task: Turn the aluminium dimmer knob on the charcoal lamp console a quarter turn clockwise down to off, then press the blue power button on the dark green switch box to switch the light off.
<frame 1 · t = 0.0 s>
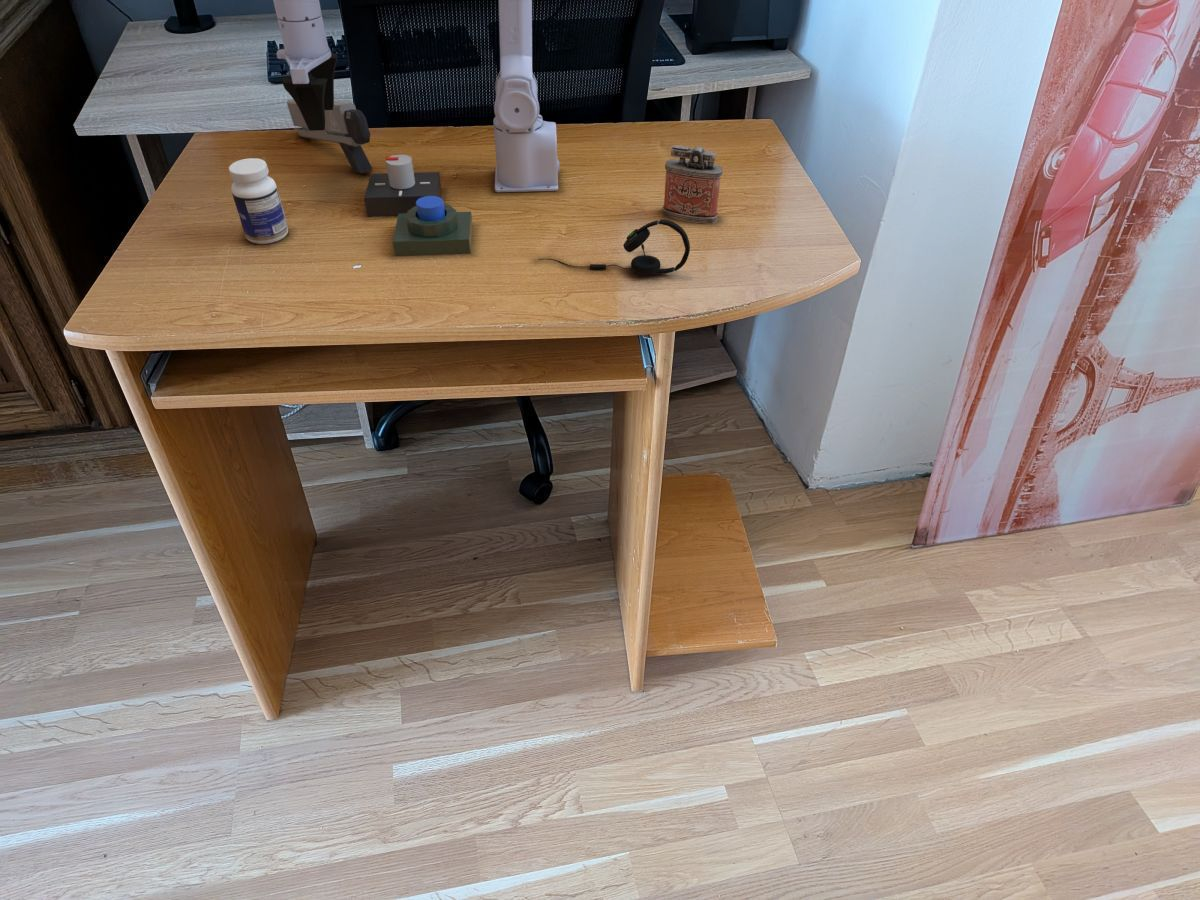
hand: (321, 119, 119), 10 cm above the table, tool pointing down, fingers open, 7 cm apart
power button: (430, 209, 111), point 5 cm above the table, slide at 0.1 cm
dimmer knob: (400, 170, 119), point 5 cm above the table, hinge at 0.0°
dimmer console: (405, 203, 122), on the table
headset: (614, 262, 110), on the table
gun: (335, 155, 135), on the table
switch box: (434, 240, 114), on the table
lighter: (689, 217, 120), on the table
pill bottle: (268, 236, 115), on the table
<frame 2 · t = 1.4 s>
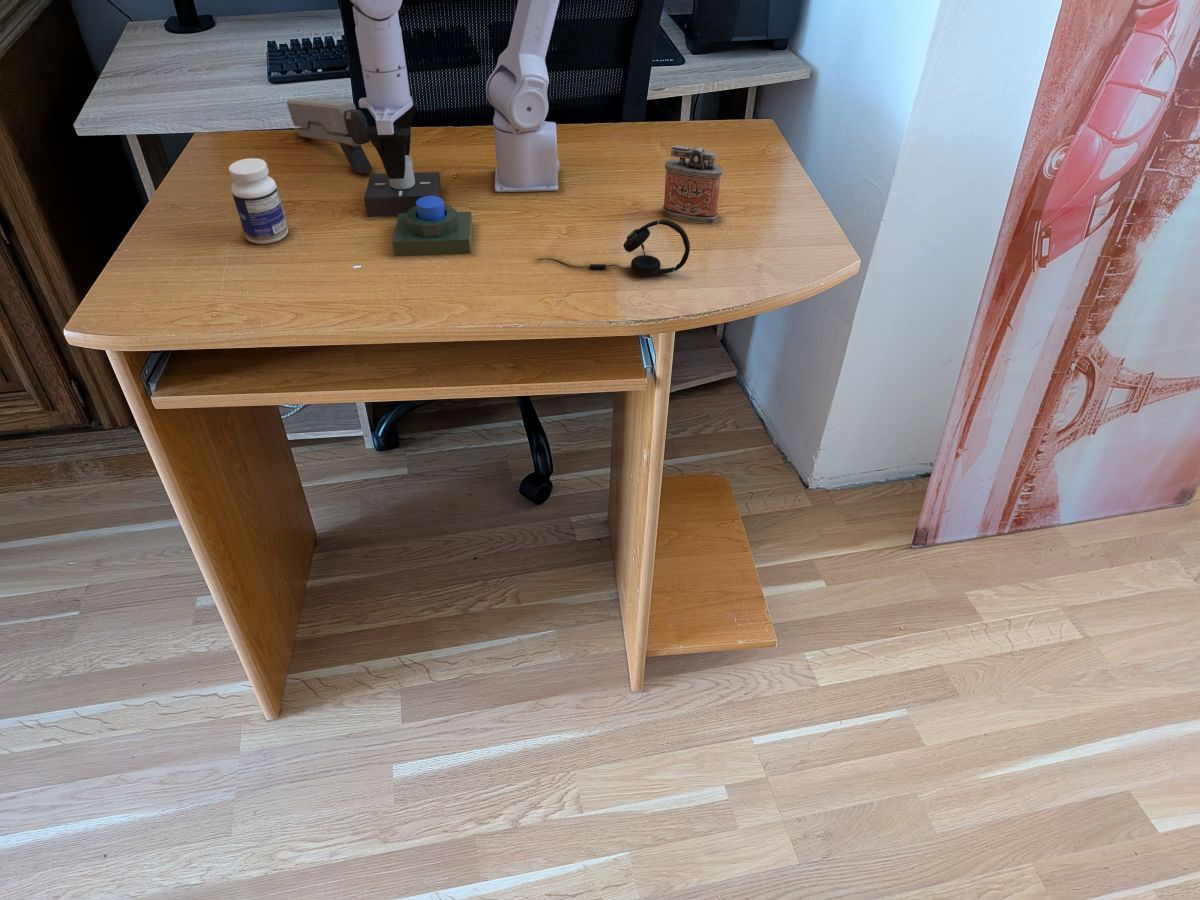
hand: (399, 166, 118), 6 cm above the table, tool pointing down, fingers open, 7 cm apart
nothing on the table moved.
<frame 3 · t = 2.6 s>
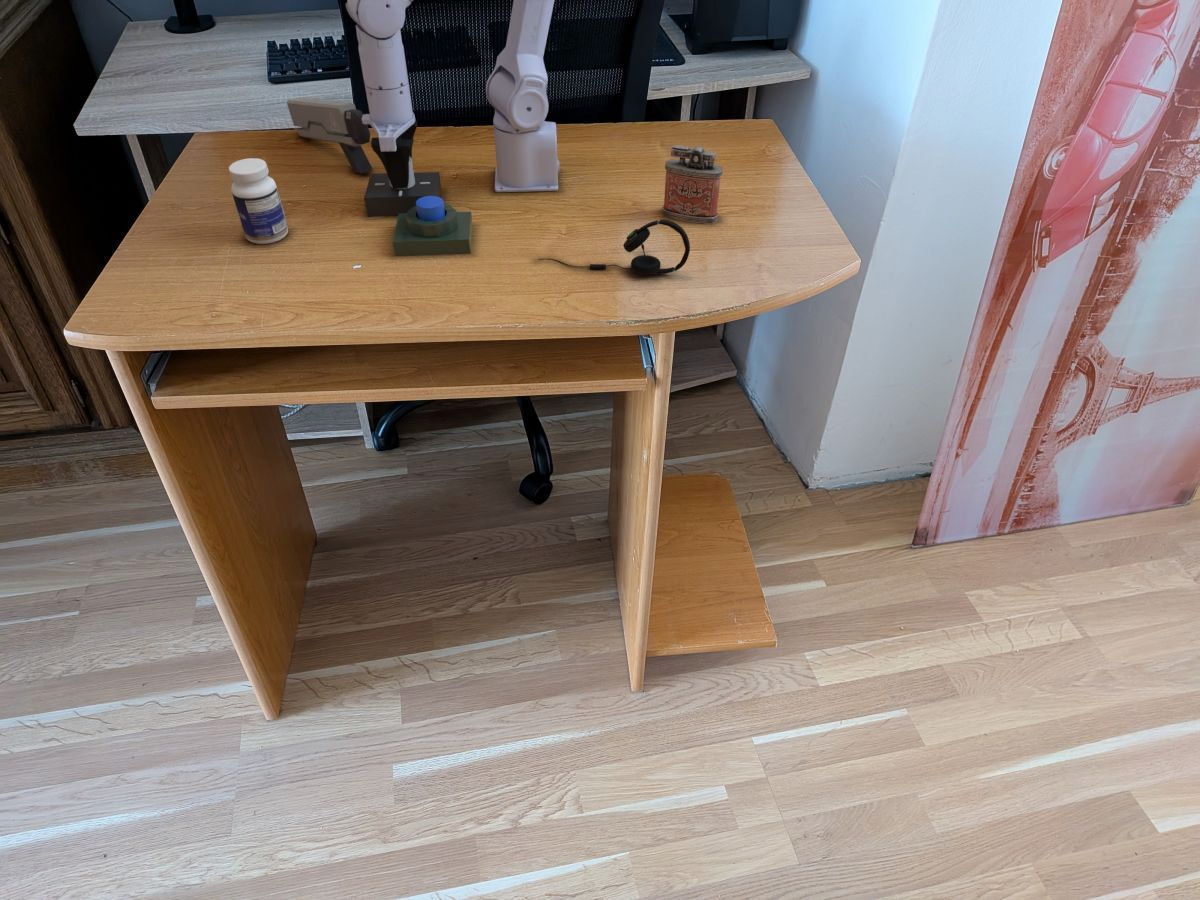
hand: (402, 180, 120), 4 cm above the table, tool pointing down, fingers closed on dimmer knob, 3 cm apart
dimmer knob: (400, 170, 119), point 5 cm above the table, hinge at -0.1°, touching gripper
everything else where it was.
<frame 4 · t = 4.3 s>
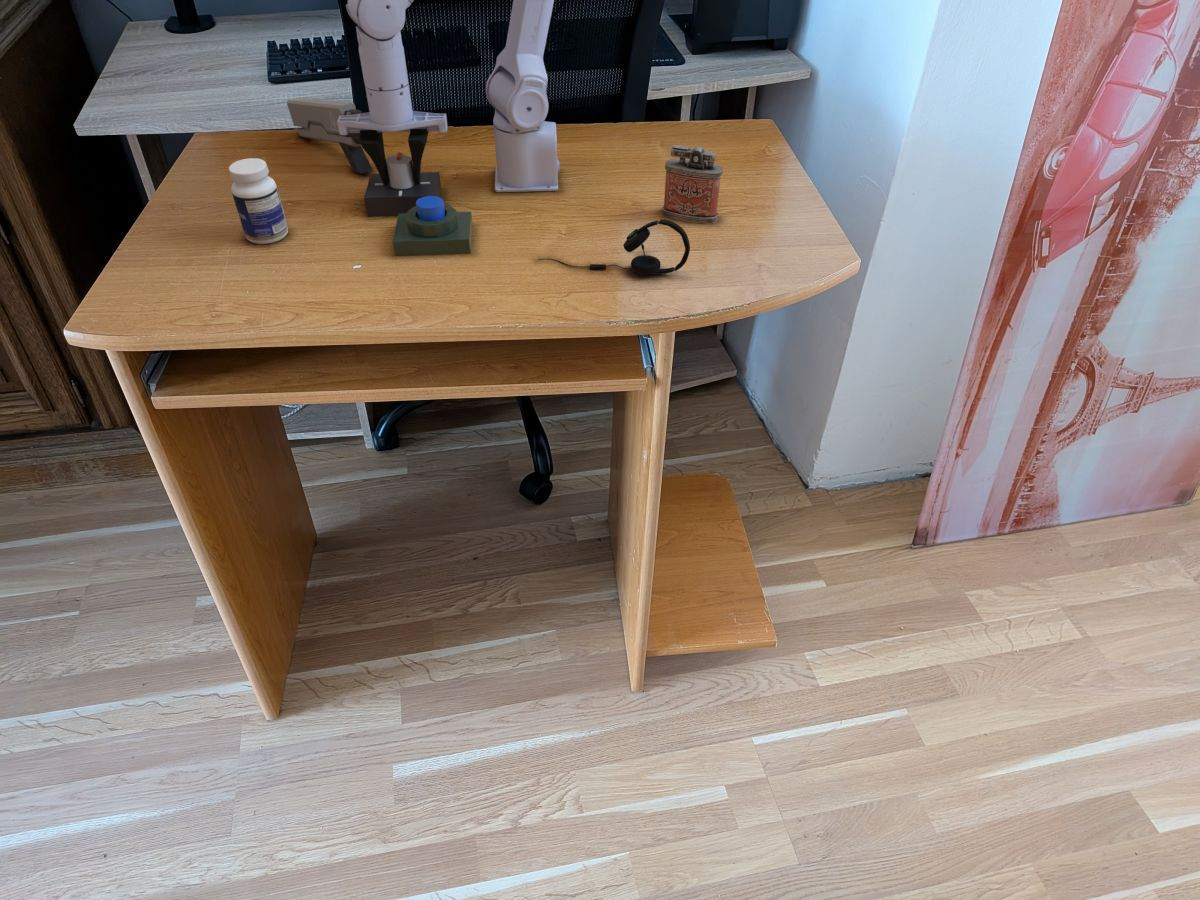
hand: (402, 181, 120), 3 cm above the table, tool pointing down, fingers open, 4 cm apart
dimmer knob: (400, 170, 119), point 5 cm above the table, hinge at -90.3°
everything else where it was.
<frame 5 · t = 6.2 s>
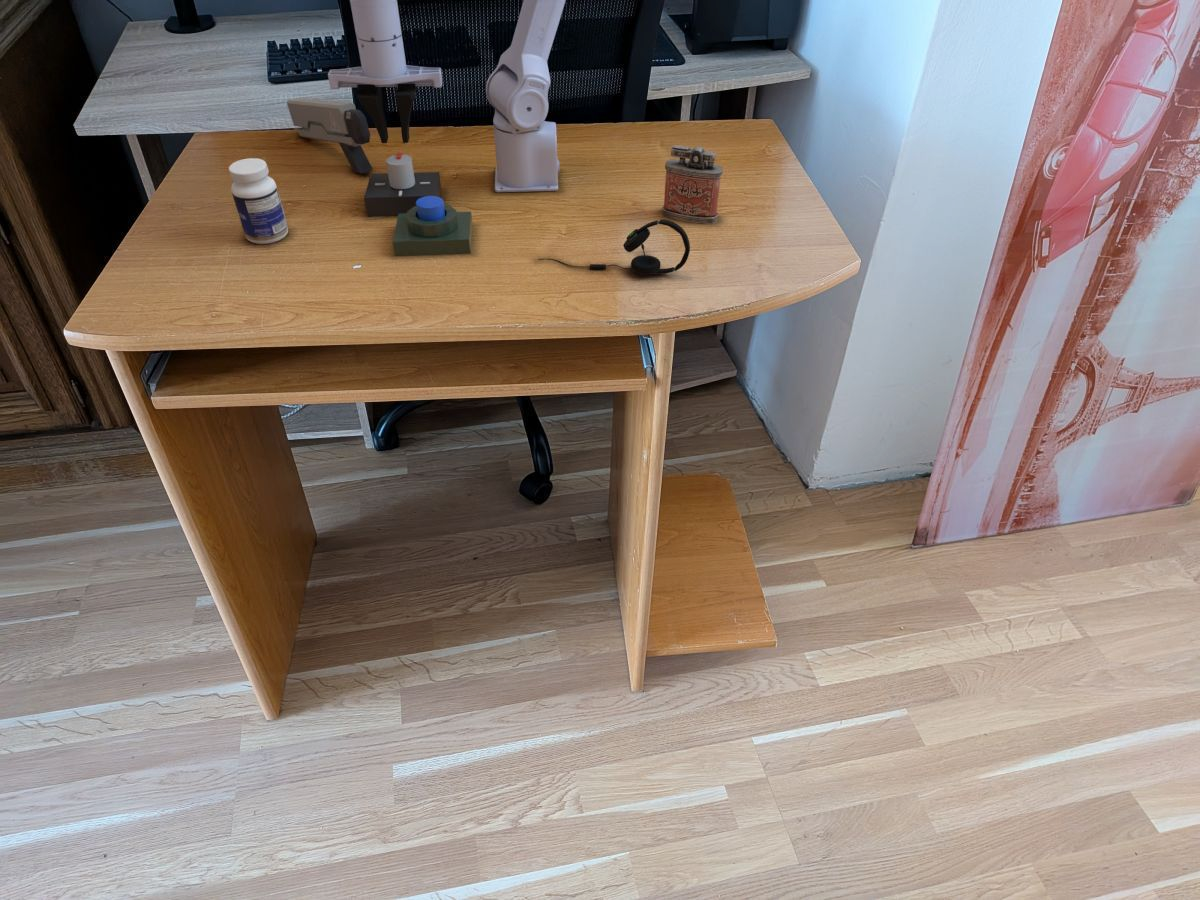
hand: (395, 140, 116), 9 cm above the table, tool pointing down, fingers closed
nothing on the table moved.
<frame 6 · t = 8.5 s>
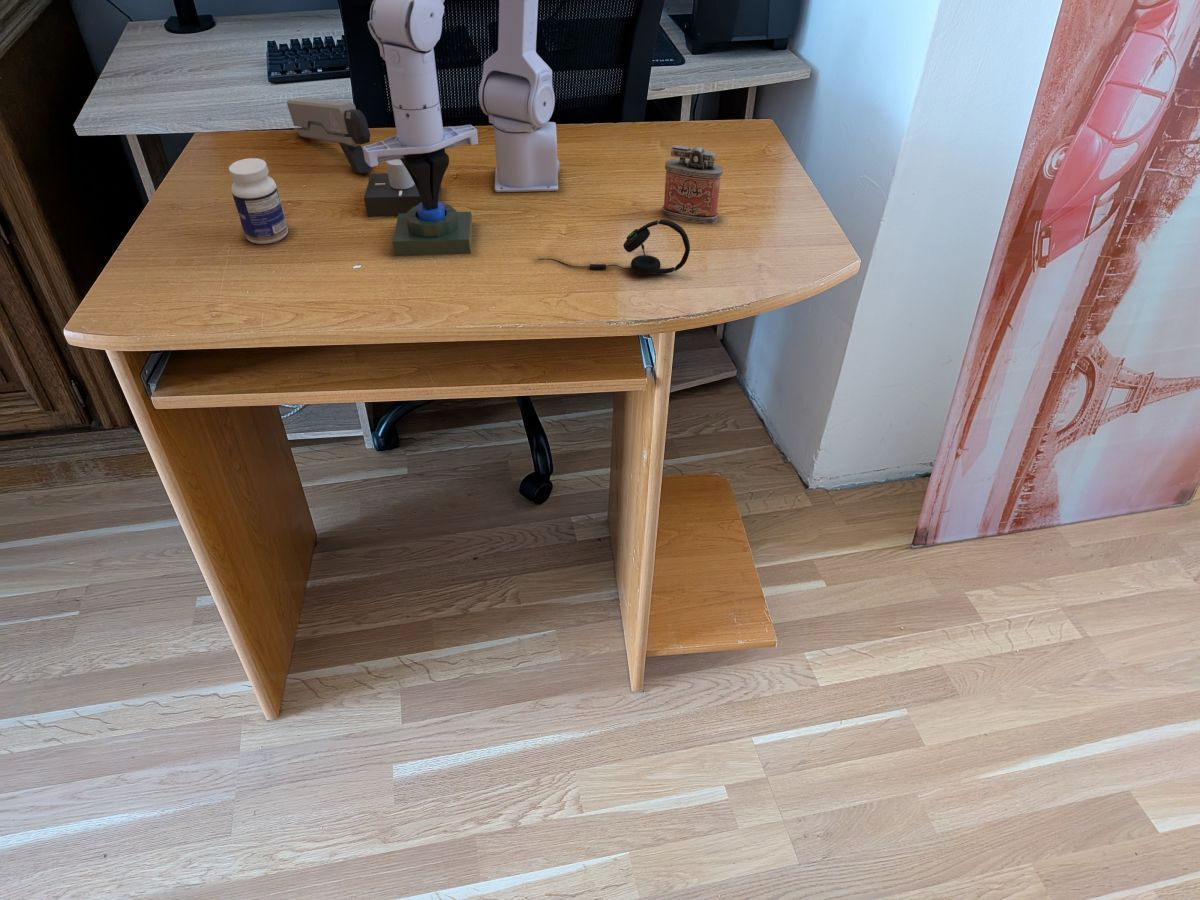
hand: (430, 206, 110), 5 cm above the table, tool pointing down, fingers closed, pressing on power button
power button: (431, 213, 111), point 4 cm above the table, slide at -0.5 cm, touching gripper
everything else where it was.
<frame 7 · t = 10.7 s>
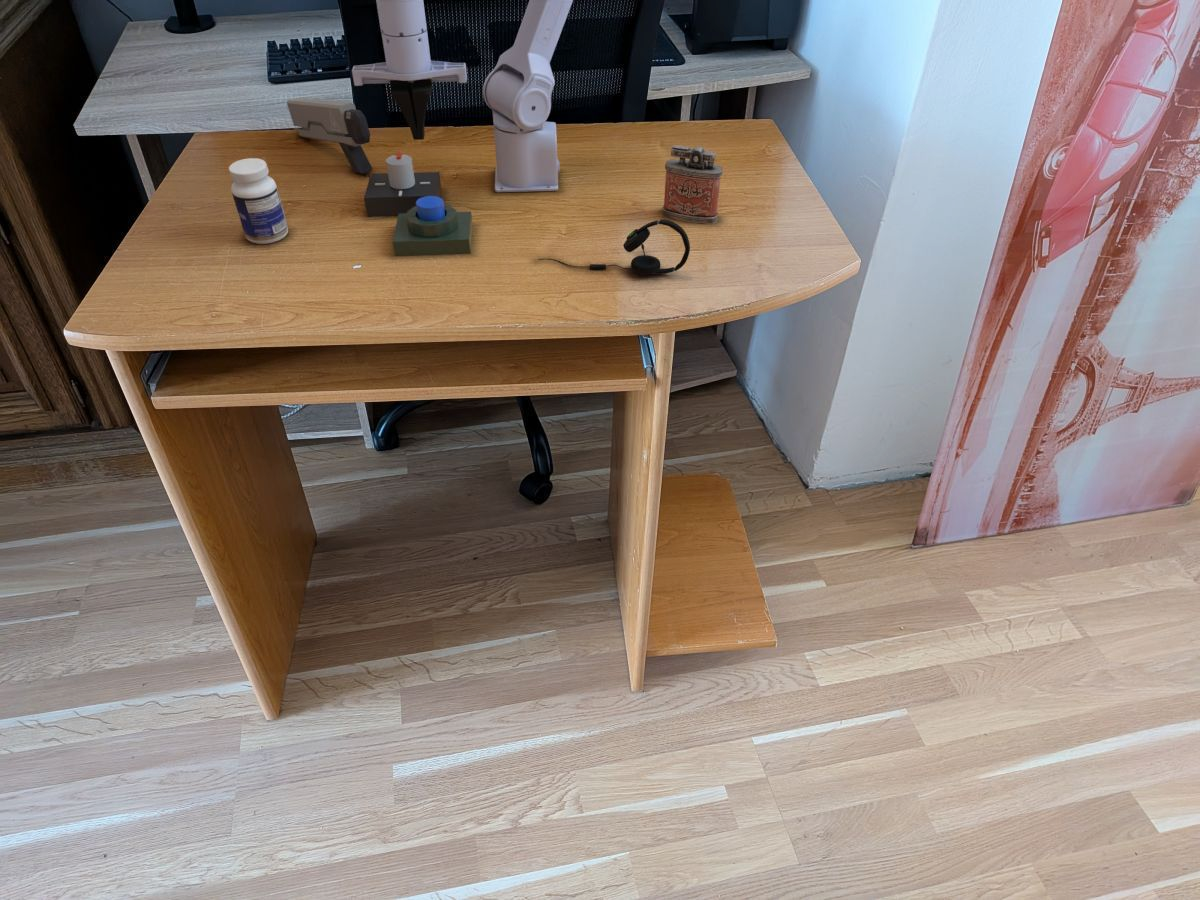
hand: (419, 136, 114), 10 cm above the table, tool pointing down, fingers closed
power button: (430, 209, 111), point 5 cm above the table, slide at 0.1 cm
everything else where it was.
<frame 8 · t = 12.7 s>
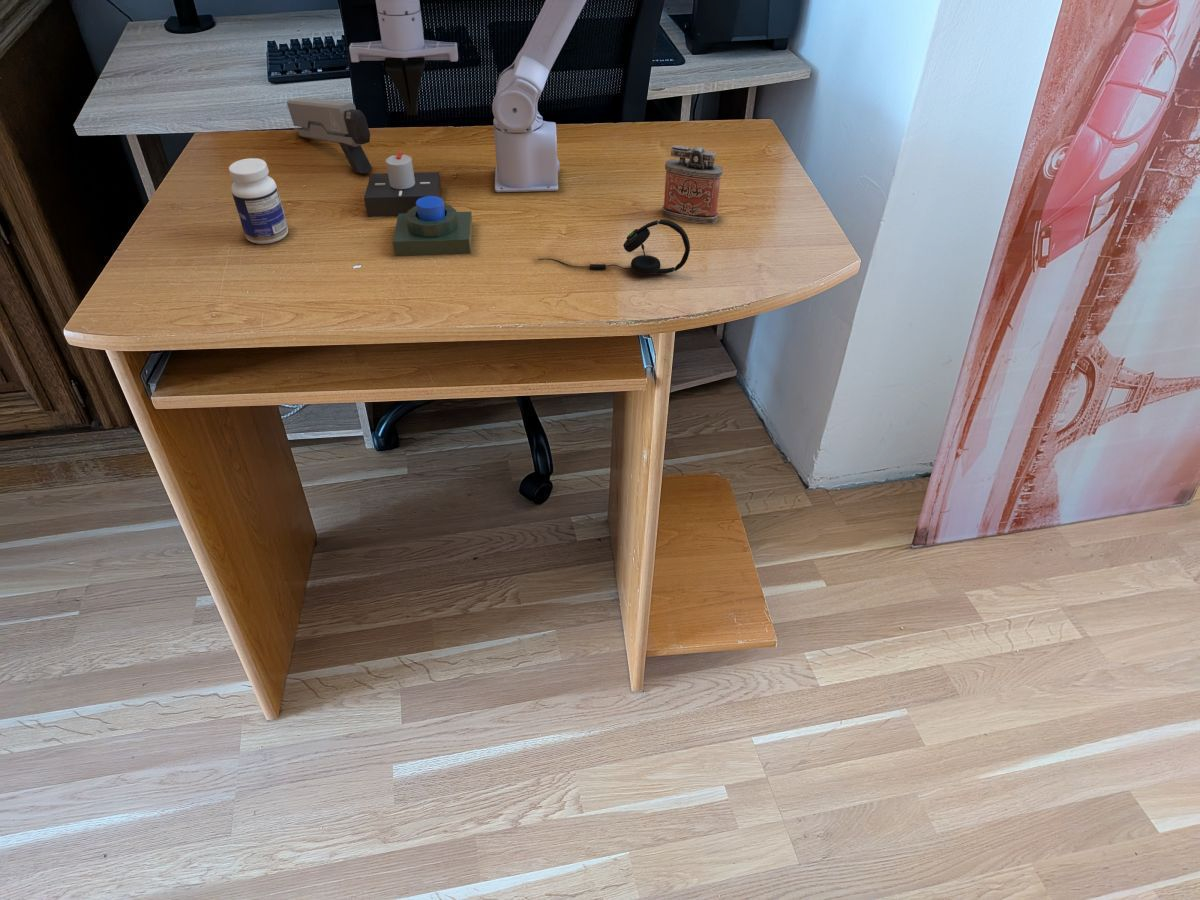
hand: (412, 112, 121), 10 cm above the table, tool pointing down, fingers closed
nothing on the table moved.
at the end: dimmer knob at -90° (first picture: +0°); power button pushed in 1.3 cm at the most during the clip, back to where it started at the end; power button slide at 0.1 cm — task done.
